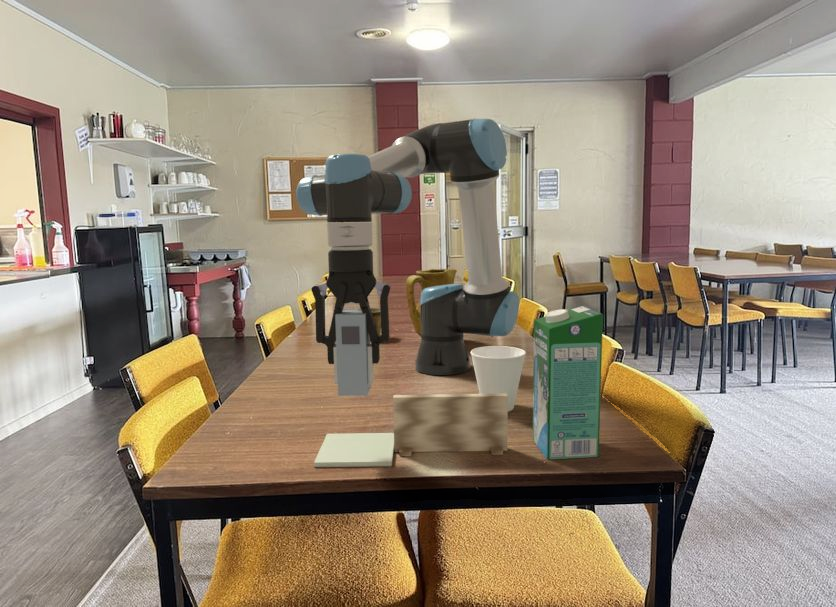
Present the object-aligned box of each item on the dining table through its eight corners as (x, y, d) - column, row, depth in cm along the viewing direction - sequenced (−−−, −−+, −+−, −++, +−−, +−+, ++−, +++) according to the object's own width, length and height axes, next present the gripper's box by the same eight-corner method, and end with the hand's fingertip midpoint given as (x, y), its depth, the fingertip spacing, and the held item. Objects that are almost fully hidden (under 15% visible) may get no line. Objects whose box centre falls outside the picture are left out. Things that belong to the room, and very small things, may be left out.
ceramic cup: (389, 336, 202) (388, 308, 200) (375, 342, 193) (374, 313, 191) (357, 334, 207) (356, 307, 206) (342, 339, 198) (341, 311, 197)
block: (343, 387, 102) (340, 310, 100) (370, 387, 102) (368, 310, 100) (337, 395, 97) (335, 315, 95) (367, 395, 97) (364, 314, 95)
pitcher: (468, 347, 180) (463, 268, 178) (410, 351, 181) (404, 272, 178) (464, 338, 197) (460, 266, 195) (411, 341, 198) (406, 270, 195)
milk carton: (532, 439, 105) (533, 306, 102) (579, 437, 106) (583, 304, 102) (547, 460, 96) (549, 314, 93) (599, 457, 97) (603, 312, 93)
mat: (314, 467, 95) (313, 462, 95) (327, 437, 108) (327, 433, 108) (391, 466, 95) (391, 461, 95) (395, 436, 108) (395, 432, 108)
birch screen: (393, 456, 99) (392, 400, 98) (395, 444, 104) (394, 392, 102) (508, 454, 99) (509, 399, 97) (504, 443, 104) (504, 390, 102)
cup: (461, 403, 127) (460, 349, 125) (506, 396, 131) (506, 343, 130) (488, 419, 116) (488, 360, 114) (536, 411, 121) (537, 354, 119)
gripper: (291, 250, 93) (298, 388, 96) (403, 248, 92) (405, 387, 96) (301, 248, 100) (307, 376, 103) (404, 246, 100) (406, 375, 103)
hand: (354, 381), depth 99 cm, fingers closed on block, 5 cm apart
